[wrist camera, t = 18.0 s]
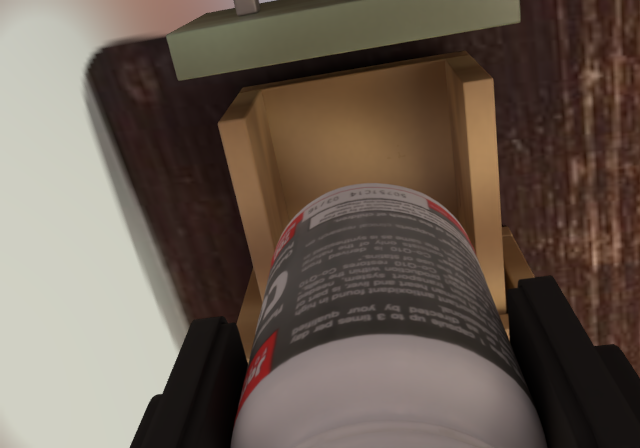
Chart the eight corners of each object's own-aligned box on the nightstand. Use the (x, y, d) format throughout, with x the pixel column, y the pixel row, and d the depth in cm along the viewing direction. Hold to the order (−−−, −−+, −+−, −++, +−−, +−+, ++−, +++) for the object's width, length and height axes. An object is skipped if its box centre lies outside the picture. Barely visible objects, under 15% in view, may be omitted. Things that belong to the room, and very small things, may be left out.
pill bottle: (254, 192, 14) (137, 505, 6) (467, 163, 13) (621, 465, 6) (292, 361, 16) (239, 756, 8) (479, 342, 15) (606, 743, 8)
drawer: (162, -164, 18) (103, -194, 14) (469, -231, 17) (510, -287, 13) (276, 308, 25) (260, 386, 20) (499, 280, 24) (533, 356, 19)
